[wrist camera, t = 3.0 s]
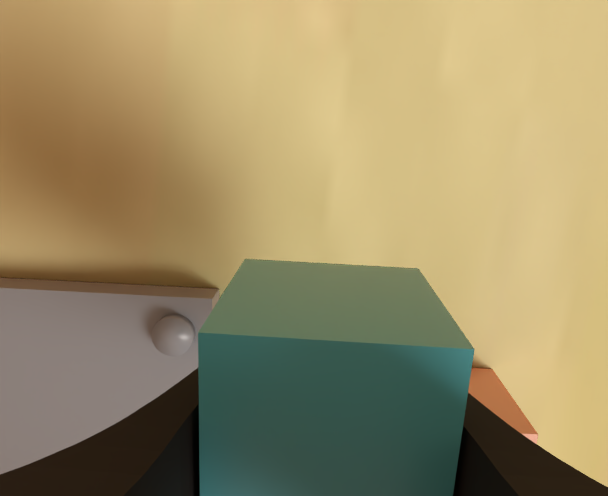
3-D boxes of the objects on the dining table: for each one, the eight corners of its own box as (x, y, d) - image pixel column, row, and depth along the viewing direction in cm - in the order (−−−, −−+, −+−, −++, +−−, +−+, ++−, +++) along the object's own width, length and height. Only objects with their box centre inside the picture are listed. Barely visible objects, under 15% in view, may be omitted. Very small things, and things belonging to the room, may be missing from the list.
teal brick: (396, 471, 13) (431, 640, 9) (241, 460, 13) (200, 621, 9) (418, 268, 12) (474, 350, 7) (245, 258, 12) (198, 332, 7)
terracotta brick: (473, 485, 21) (512, 577, 17) (377, 479, 21) (391, 568, 17) (491, 367, 20) (538, 434, 15) (387, 362, 20) (405, 426, 16)
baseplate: (220, 558, 23) (212, 592, 21) (-37, 540, 23) (-65, 571, 21) (219, 288, 19) (209, 303, 18) (-84, 273, 20) (-121, 286, 18)
